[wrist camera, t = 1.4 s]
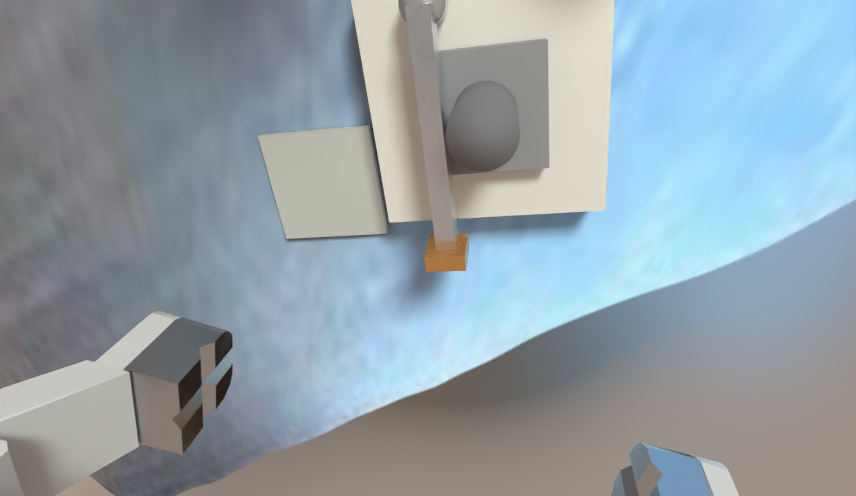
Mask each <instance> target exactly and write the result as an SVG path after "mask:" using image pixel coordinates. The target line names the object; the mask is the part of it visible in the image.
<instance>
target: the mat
mask: <svg viewBox="0 0 856 496" xmlns="http://www.w3.org/2000/svg"><path fill="white" fill-rule="evenodd" d="M258 139H259V143H260V146H261V150H262V153H263V157H264V160H265V164H266V168H267V171H268V175H269V178H270V182H271V185H272V189H273V193H274V196H275V200H276V203H277V207H278V210H279V214H280V218H281V221H282V225H283V228H284V232H285V235H286V239H293V238H312V237H331V236H350V235H369V234H387V233H388V231H389V230H388V225H387V219H386V213H385V207H384V202H383V196H382V190H381V184H380V179H379V173H378V167H377V161H376V156H375V150H374V144H373V139H372V133H371V127H370V125H360V126H349V127H339V128H328V129H317V130H306V131H295V132H284V133H273V134H263V135H260V136H258Z"/></svg>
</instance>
